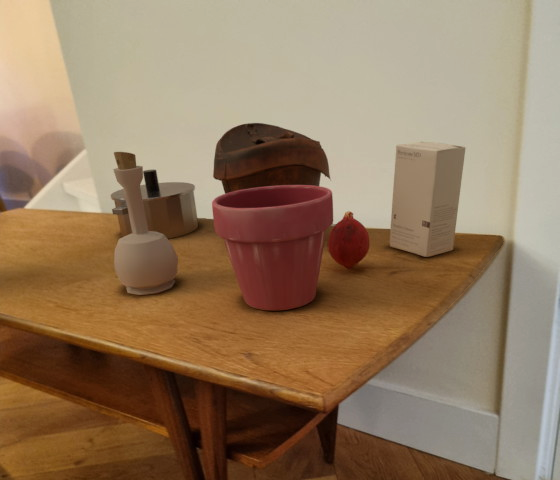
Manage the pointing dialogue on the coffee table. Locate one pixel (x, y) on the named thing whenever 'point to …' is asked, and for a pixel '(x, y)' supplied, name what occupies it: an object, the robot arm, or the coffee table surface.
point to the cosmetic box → (426, 197)
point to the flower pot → (275, 241)
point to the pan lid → (157, 189)
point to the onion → (348, 241)
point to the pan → (163, 216)
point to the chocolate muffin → (267, 158)
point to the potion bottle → (141, 239)
